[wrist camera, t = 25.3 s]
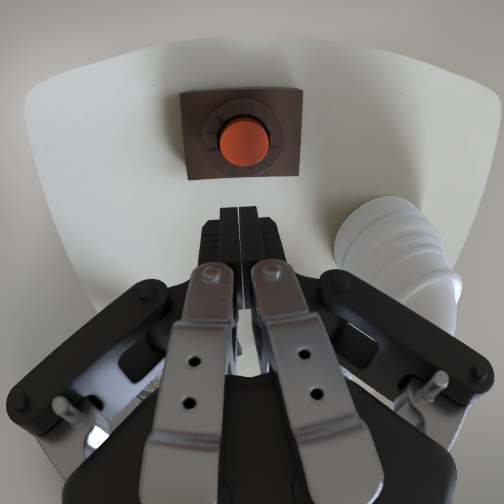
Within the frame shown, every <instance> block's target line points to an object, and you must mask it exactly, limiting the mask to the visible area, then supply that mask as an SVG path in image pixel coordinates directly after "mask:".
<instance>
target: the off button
mask: <svg viewBox="0 0 504 504" xmlns="http://www.w3.org/2000/svg"><path fill="white" fill-rule="evenodd" d="M268 144H269V142H268V137H267V134H266V132H265V130H264V128H263V127H262V125H261V124H260V123H258V122H257V121H256V120H254V119H251V118H246V117H241V118H236V119H234V120H232V121H230V122H229V123H228V124H226V126H225V127H224V128H223V130H222V133H221V137H220V150H221V153H222V155H223V156H224V158H225V159H226V160H227V161H229V162H230V163H232V164H234V165H237V166H250V165H254V164H256V163H257V162H259V161H260V160H261V159H262V158H263V157H264V156H265V154H266V152H267V150H268Z"/></svg>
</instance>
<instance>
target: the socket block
mask: <svg viewBox="0 0 504 504" xmlns="http://www.w3.org/2000/svg"><path fill="white" fill-rule="evenodd" d="M180 103H181V116H182V127H183V138H184V149H185V158H186V167H187V176H188V180H201V179H217V178H237V177H268V176H299V162H300V146H301V128H302V106H303V90H301V89H298V88H278V87H241V88H218V89H204V90H193V91H184V92H182V93H180ZM241 117H246V118H251V119H254V120H256V121H257V122H258V123H260V124H261V125H262V127H263V128H264V130H265V132H266V134H267V137H268V142H269V144H268V150H267V152H266V154H265V156H264V157H263V158H262V159H261V160H260V161H259V162H257V163H256V164H254V165H250V166H237V165H234V164H232V163H230V162H229V161H227V160H226V159H225V158H224V156H223V155H222V153H221V150H220V137H221V133H222V130H223V128H224V127H225V126H226V124H228V123H229V122H230V121H232V120H234V119H236V118H241Z"/></svg>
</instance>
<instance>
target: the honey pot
mask: <svg viewBox="0 0 504 504" xmlns="http://www.w3.org/2000/svg"><path fill="white" fill-rule="evenodd" d="M333 251H334V259H335V261H336V264H337V266H338V269H340V270H345V271H348V272H350V273H352V274H353V275H355V276H357V277H358V278H360V279H362V280H363V281H365V282H367V283H368V284H370V285H372V286H373V287H375V288H377V289H378V290H380V291H382V292H383V293H385V294H387V295H388V296H390V297H391V298H393V299H395V300H396V301H398V302H400V303H401V304H403V305H404V306H406V307H408V308H409V309H411V310H413V311H414V312H416V313H417V314H419V315H420V316H422V317H424V318H425V319H427V320H428V321H430V322H432V323H433V324H435V325H436V326H438V327H439V328H441V329H442V330H444V331H446V332H447V333H449V334H450V335H452V336H454V332H455V328H456V316H457V312H456V303H457V302H458V300H459V297H460V295H461V291H462V281H461V278H460V276H459V275H458V274H457V273H456V272H455V271H452V270H449V262H448V258H447V255H446V254H445V252H444V249H443V246H442V242H441V239H440V236H439V233H438V231H437V230H436V228H435V227H434V226H433V225H432V224H431V223H430V222H429V221H428V220H427V219H426V218H425V217H424V215H423V214H422V213H421V212H420V211H419V210H418V209H417V208H416V207H415V206H414V205H413V204H412V203H411V202H410V201H408V200H406V199H404V198H402V197H398V196H383V197H377V198H375V199H372V200H370V201H368V202H366V203H364V204H362V205H361V206H359V207H358V208H357V209H355V210H354V211H353V212H352V213H351V214H350V215H349V216H348V217H347V218H346V220H345V221H344V222H343V223H342V225H341V227H340V229H339V230H338V232H337V234H336V238H335V241H334V245H333Z"/></svg>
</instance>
